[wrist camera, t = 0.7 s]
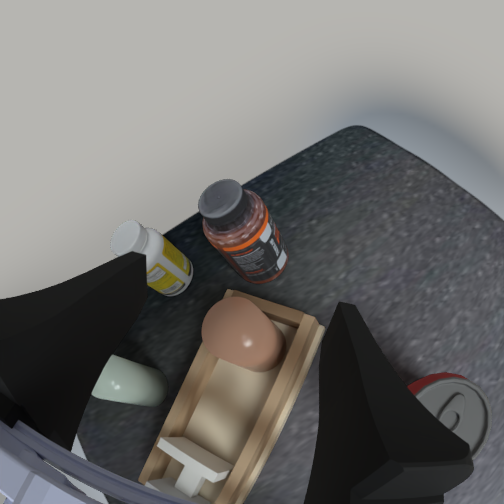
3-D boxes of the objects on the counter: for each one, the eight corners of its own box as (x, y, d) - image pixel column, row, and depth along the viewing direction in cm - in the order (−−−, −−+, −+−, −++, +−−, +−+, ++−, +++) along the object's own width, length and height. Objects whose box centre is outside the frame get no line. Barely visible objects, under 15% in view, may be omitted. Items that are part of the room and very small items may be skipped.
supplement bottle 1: (171, 251, 40) (124, 208, 32) (202, 264, 37) (155, 219, 29) (150, 288, 38) (97, 251, 30) (179, 304, 36) (125, 267, 28)
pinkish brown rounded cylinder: (273, 380, 27) (245, 370, 21) (228, 360, 30) (191, 345, 24) (294, 331, 29) (273, 307, 23) (248, 315, 31) (218, 289, 25)
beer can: (460, 399, 21) (517, 387, 11) (427, 466, 19) (463, 499, 9) (399, 374, 24) (420, 350, 14) (364, 440, 22) (362, 462, 13)
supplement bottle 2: (301, 259, 33) (269, 191, 24) (258, 297, 33) (208, 243, 23) (268, 227, 36) (228, 159, 27) (228, 261, 36) (176, 203, 27)
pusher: (210, 516, 22) (188, 527, 18) (161, 484, 25) (136, 489, 21) (237, 467, 24) (217, 473, 20) (184, 436, 27) (160, 437, 23)
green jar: (158, 414, 30) (106, 407, 23) (131, 394, 32) (80, 383, 25) (174, 379, 31) (125, 365, 25) (146, 362, 33) (97, 344, 27)
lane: (231, 524, 22) (213, 535, 18) (153, 474, 26) (131, 477, 23) (325, 328, 29) (319, 317, 26) (236, 299, 33) (221, 285, 30)
